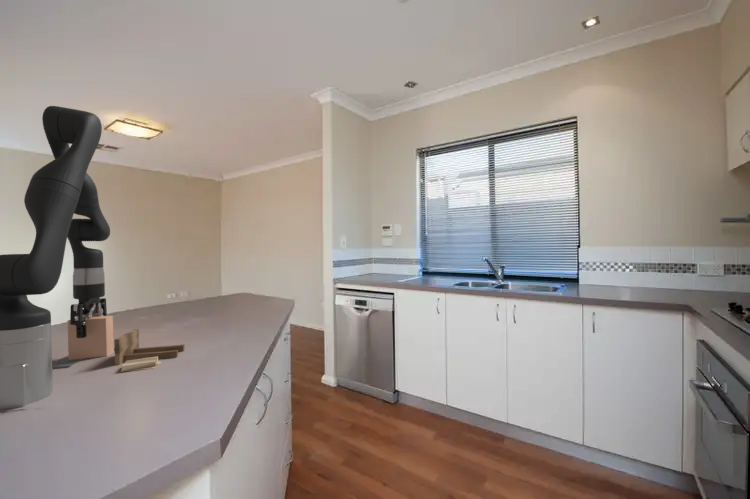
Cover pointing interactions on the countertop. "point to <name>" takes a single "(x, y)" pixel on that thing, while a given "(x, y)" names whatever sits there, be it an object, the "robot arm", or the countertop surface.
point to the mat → (65, 362)
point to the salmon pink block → (92, 339)
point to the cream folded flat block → (145, 368)
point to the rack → (141, 349)
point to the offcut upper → (140, 363)
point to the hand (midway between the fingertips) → (90, 334)
